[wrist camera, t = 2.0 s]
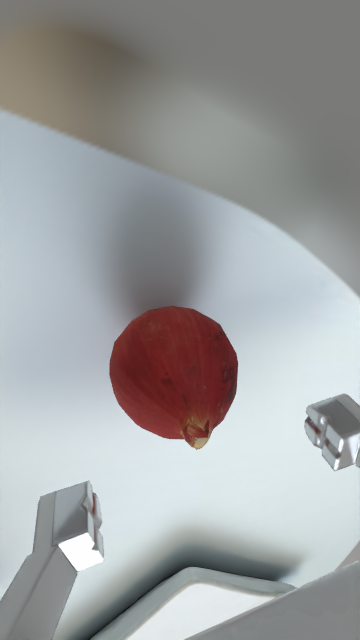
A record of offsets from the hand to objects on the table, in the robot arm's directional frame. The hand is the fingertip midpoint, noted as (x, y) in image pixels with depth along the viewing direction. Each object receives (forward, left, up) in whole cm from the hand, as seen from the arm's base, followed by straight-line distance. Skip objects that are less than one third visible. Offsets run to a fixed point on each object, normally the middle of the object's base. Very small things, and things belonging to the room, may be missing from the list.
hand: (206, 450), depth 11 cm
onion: (0, 0, -8) cm, 8 cm away
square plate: (+44, -5, -8) cm, 45 cm away
